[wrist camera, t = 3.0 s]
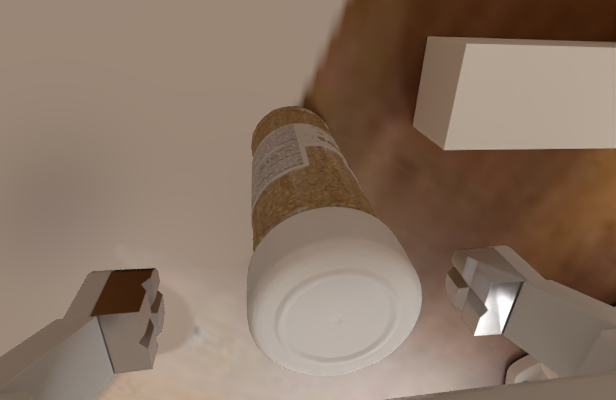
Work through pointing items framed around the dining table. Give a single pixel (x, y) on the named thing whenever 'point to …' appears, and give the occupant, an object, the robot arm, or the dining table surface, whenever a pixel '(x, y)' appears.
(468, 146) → the slotted plate
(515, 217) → the dining table surface
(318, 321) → the sprinkles bottle
